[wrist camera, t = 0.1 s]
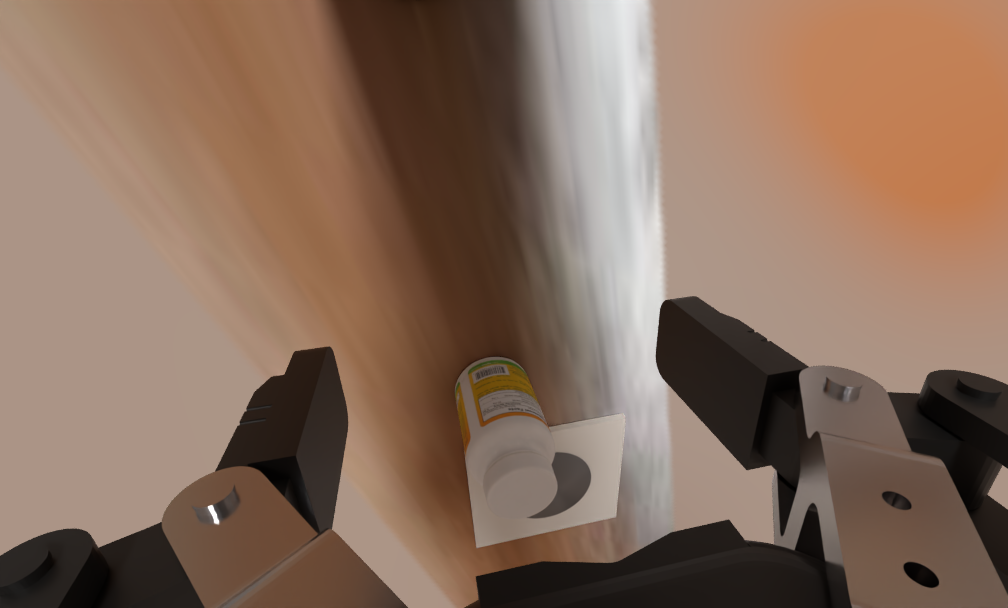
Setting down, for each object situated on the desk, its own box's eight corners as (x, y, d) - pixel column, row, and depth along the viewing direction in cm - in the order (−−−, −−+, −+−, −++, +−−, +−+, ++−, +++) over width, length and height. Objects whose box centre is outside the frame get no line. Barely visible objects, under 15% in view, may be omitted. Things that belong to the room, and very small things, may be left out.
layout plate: (463, 443, 35) (464, 449, 35) (622, 413, 37) (626, 418, 37) (475, 541, 41) (476, 549, 41) (613, 511, 43) (616, 517, 43)
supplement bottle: (495, 424, 35) (526, 539, 27) (438, 395, 33) (453, 511, 25) (542, 375, 34) (590, 480, 26) (486, 341, 32) (518, 444, 23)
